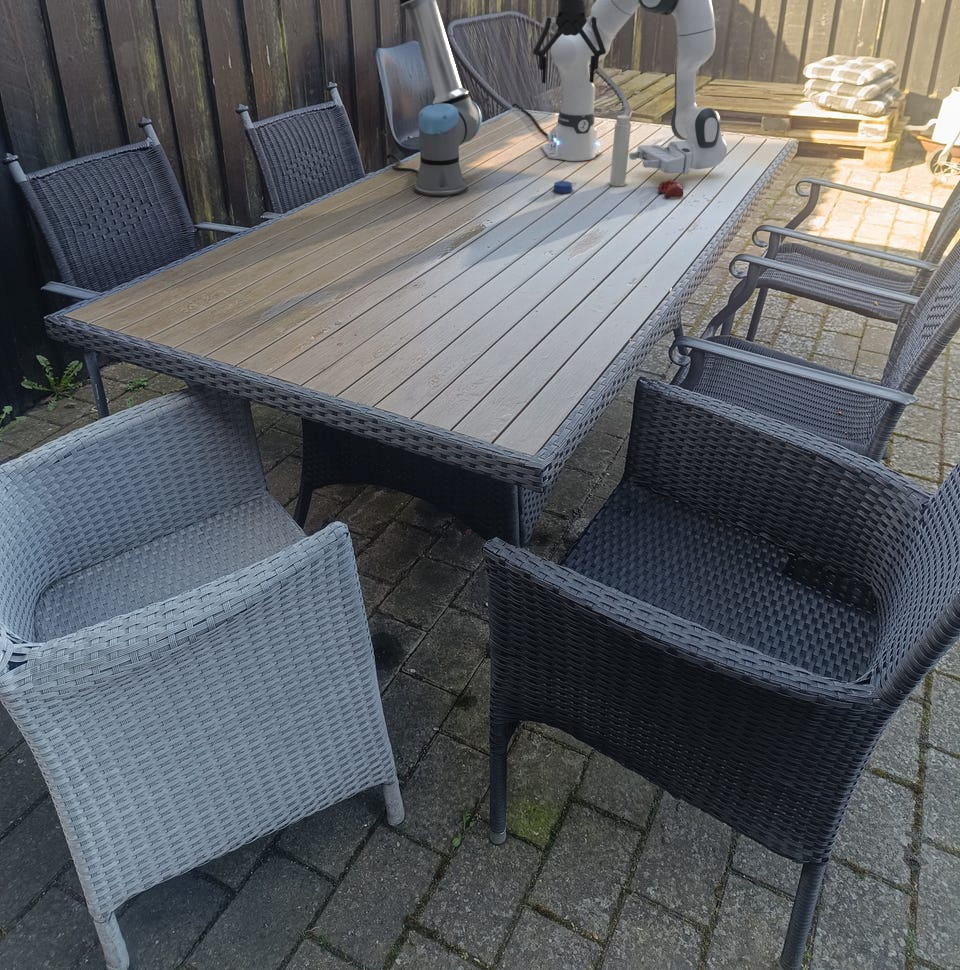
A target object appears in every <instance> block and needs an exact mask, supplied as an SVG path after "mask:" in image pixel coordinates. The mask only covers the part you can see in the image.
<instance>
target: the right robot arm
mask: <svg viewBox="0 0 960 970" xmlns="http://www.w3.org/2000/svg"><path fill="white" fill-rule="evenodd" d="M640 7H641V8H642V9H643V10H644V11H646V12H647V13H652V14H655V15H656V14H657V15H662V16H669V15H672V17H673V18H674V21H675V30H676V46H677V47H676V60H675V66H674V108H673V112H672V117H671V121H670V127H671V128H670V129H671V131H672V134H673V135H674V136H675V137H676V138H677V139H679V141H677V140H676V141H670V142H669V144H668V145H667V146H665V147H664V146H662V145H659V144H642V145H638V146H637V150H636V151H634V152H629V153H628V159H630V160H631V161H634V160H635V161H636V160H637V159H640V160H641V161H642V167H643V168H645V169H646V168H651V169H657V170H659V171H661V172H662V173H665V174H682V175H689V174H690V170H705V169H711V168H715V167H717V166H720V164H722V163H723V162H724V160H725V158H726V157H727V152H728V145H727V142H726V141H725V139H724V137H723V134H722V129H721V123H722V122H721V121H722V120H721V116H720V114H719V112H718V111H717V110H716V109H714V108H712V107H702V106H701V107H700V106H698V105H697V102H696V77H697V73H698V71H699V69H700V67H702V65H704V64H705V63H706V62H707V61H708V60H709V59H710V58H711V57H712V55H713V54H714V52H715V48H716V42H717V41H716V38H717V36H716V35H717V34H716V20H715V12H714V8H713V2H712V0H595V2H594V3H593V4H592V6H591V8H590V14H589V16H588V18H589V17H592V16H594V17H596V23H597V29H598V31H599V34H600V37H601V39H602V42H603V45H604V48H605V50H606V53H605V54H603V55H600V56H599V62H600V61H601V60H603V59H604V58H605V57H606V56H607V55H608V54H609V52H610V51H611V45H612V43H613V41H614V39H615V37H616V36H617V35H618V33H619V32H620V31H621V29H622V28H623V27H624V25H626V23H627V22H628V21H629V20H630V19H631V17H632V16H633V15H634V14H635V13H636V11H637V10H639V8H640ZM582 29H583V31H584V32H585V34H586V35H587V36H588V38H589V39H590V41H591V42H592V44H593V45H594V47H595V48H596V50H597V51H598V50H600V49H599V46H598V44H597V41H596V38H595V36H594V33H593V30H592V27H591V26H589V24H588V23H587V22H586V24H585V25H584V27H583V28H582ZM591 56H594V54H593V52H592V51H591V49H590V48H589V47H588V45H587V44H586V42H585V41H584V39H583V38H582V36H581V35H580V34H577V35H575V36H573V35H568V36H565V35H563V34H562V35H561V36H560V37H559V38H558V39H557V40H556V42H555V43H554V44H553V45H552V47H551V48H550V57H551V61H552V62H553V64H554V65H555V67H556V68H557V70H558V75H559V79H560V86H561V87H560V88H561V93H560V96H561V97H560V111H558V116H557V123H556V125H555V126H554V127H553V128H552V129H551V130H550V131H549V133H547V132H546V131H544V130H543V128H542V127H541V126H540V125H539V123H538V122H537V120H536V119H535V118H534V117H533V115H532V114H531V113H530V112H529V111H527V110H526V109H524V108H523V107H522V106H520V105H519V104H518V103H516V102H514V103H513V104H512V107H514V108H515V107H516V108H517V109H518V110H520V111H522V112H523V113H525V114H526V115H527V116H528V117H529V118H531V120H532V121H533V123H534V124H535V126H536V127H537V129H538V130H539V131H540V132H541V133H542V134H543V135H544V136H545V137H546V141H547V142H548V143H545V144H542V145H541V149H542V150H543V152H544V153H545V155H546V156H547V157H548V159H552V160H553V159H554V160H562V161H570V162H581V161H583V162H584V161H589V160H592V159H595V158H596V157H597V156H599V155H601V150H599V149H598V146H601V143H600V142H598V130H597V128H596V127H595V126H594V125H595V119H596V113H595V99H596V98H595V97H596V86H595V84H594V82H593V83H590V81H589V79H590V64H591Z"/></svg>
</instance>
